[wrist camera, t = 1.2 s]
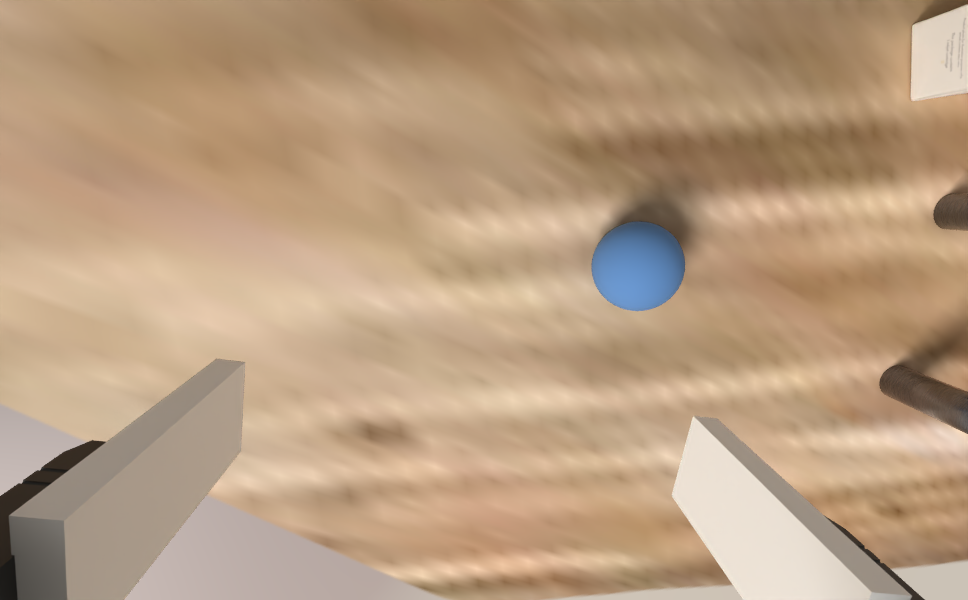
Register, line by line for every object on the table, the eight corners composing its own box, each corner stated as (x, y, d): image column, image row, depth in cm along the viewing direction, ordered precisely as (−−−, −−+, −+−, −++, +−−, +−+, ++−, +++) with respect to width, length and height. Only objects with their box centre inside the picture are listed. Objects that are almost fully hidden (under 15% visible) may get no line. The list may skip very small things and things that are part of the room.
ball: (589, 213, 33) (616, 218, 27) (670, 224, 33) (711, 231, 28) (575, 295, 34) (598, 314, 29) (653, 304, 34) (690, 326, 29)
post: (885, 364, 36) (1022, 419, 28) (915, 367, 37) (1061, 423, 28) (875, 394, 37) (1007, 458, 28) (905, 398, 37) (1045, 462, 28)
